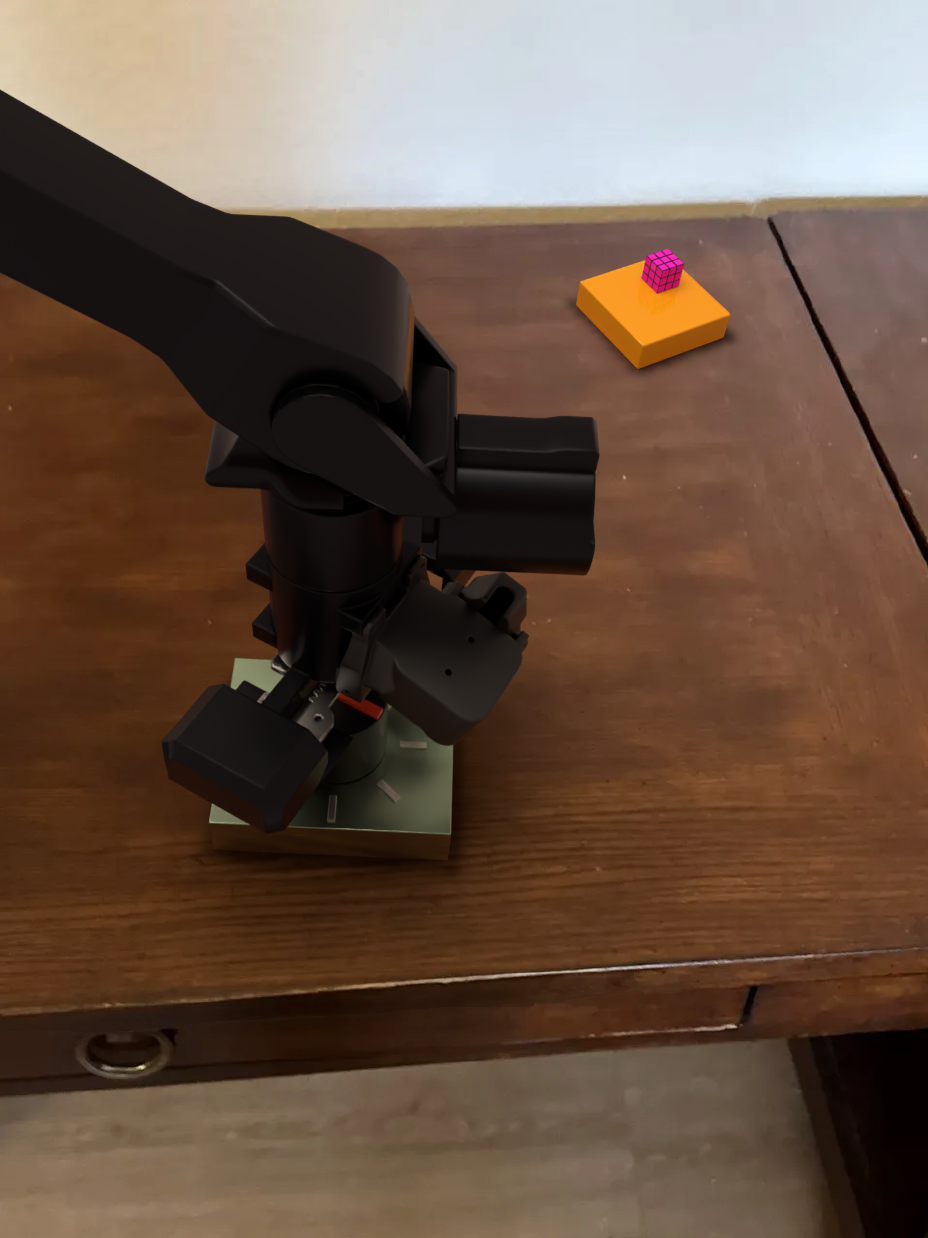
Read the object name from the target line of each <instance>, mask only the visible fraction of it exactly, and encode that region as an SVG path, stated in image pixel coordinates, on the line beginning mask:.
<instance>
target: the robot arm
mask: <svg viewBox="0 0 928 1238" xmlns="http://www.w3.org/2000/svg"><path fill="white" fill-rule="evenodd" d="M0 274H1V275H3V276H5V277H7V278H9V279H12V281H16V282H17V283H20V284H21V285H23V286H25V287H27V288H28V289H31V290H33V291H34V292H37V293H39V294H40V295H41V294H42V295H44V296H45V297H47V298H49V299H51V300H53V301H54V302H55V301H56V302H57V303H59V304H61V305H63V306H66V307H68V308H69V309H72V310H73V311H75V312H77V313H80V314H81V315H84V316H85V317H87V318H90V319H91V320H93V321H96V322H98V323H99V324H102V325H103V326H105V327H107V328H109V329H111V330H114V331H116V332H117V333H120V334H121V335H123V336H126V337H128V338H130V340H133V341H134V342H135V343H137V344H138V345H140V346H141V347H143V348H144V349H145V350H147V351H149V352H150V353H152V354H153V355H155V356H156V357H158V358H159V359H160V360H161V361H162V362H163V363H164V365H166V366H167V368H168V369H169V371H170V372H171V373H172V374H173V376H175V378H176V379H177V381H178V382H179V383H180V384H181V385H182V387H183V388H184V389H185V391H186V392H187V393H188V395H189V396H190V397H191V398H192V400H193V401H194V402H195V403H196V404H197V406H198V407H199V408H200V410H201V411H202V412H203V413H204V414H205V415H206V416H207V417H209V418H210V419H212V420H213V424H212V430H211V435H210V442H209V447H208V453H207V458H206V465H205V471H204V474H203V475H204V478H203V479H204V481H205V483H206V484H207V485H208V486H210V487H212V488H227V489H244V490H245V489H247V490H260V491H259V492H260V502H261V513H262V514H261V515H262V526H263V537H264V538H263V539H264V543H263V544H262V545H261V546H260V547H259V548H258V549H257V550H256V552H255V553H253V555H252V556H251V557H250V558H249V559H248V560H247V562H246V563H245V574H246V580H248V581H249V582H251V583H253V584H256V585H258V586H259V587H261V588H263V589H265V590H267V591H268V593H269V594H268V596H269V602H268V604H267V605H266V606H265V607H264V608H263V609H262V610H261V612H260V613H259V614H258V615H257V616H256V618H255V619H254V620H253V621H252V622H251V629H252V637H253V638H255V639H257V640H259V641H260V642H263V643H264V644H266V645H268V646H271V648H275V649H277V652H276V653H275V655H274V656H273V657H272V658H271V659H270V660H271V662H270V665H271V669H272V670H273V671H275V672H277V673H279V674H281V675H284V676H283V677H282V679H281V680H280V681H279V682H278V683H277V685H276V686H275V687H274V688H273V690H272V691H271V692H270V693H268V692H266V691H264V690H263V689H261V688H259V687H257V686H255V685H253V684H251V683H249V682H248V681H246V680H243V682H242V683H241V684H240V685H239V686H238V688H237V689H236V690H235V689H233V688H231V687H230V686H229V685H228V684H225V683H220V684H214V685H213V684H212V685H209V686H207V688H206V689H205V690H204V691H203V692H202V693H201V694H200V696H199V697H198V698H197V699H196V701H194V703H193V704H192V705H191V706H190V707H189V709H188V710H187V711H186V712H185V713H184V715H183V716H182V717H180V719H179V721H177V723H176V724H175V725H174V726H173V727H172V729H171V730H170V731H169V732H168V733H167V734H166V736H165V737H164V738H163V739H162V740H161V748H162V754H163V761H164V765H165V769H166V773H167V777H168V780H169V781H172V782H173V783H175V784H177V785H178V786H180V787H182V788H184V789H185V790H187V791H189V792H191V793H193V794H195V795H197V796H198V797H199V798H201V799H203V800H205V801H207V802H209V803H210V804H211V805H212V804H214V805H216V806H217V807H219V808H221V809H223V810H224V811H226V812H228V813H230V814H231V815H233V816H235V817H237V818H239V819H240V820H242V821H244V822H246V823H247V824H249V825H251V826H253V827H254V828H256V829H258V830H260V831H261V832H263V833H265V834H270V833H275V832H279V831H284V830H285V829H286V828H287V827H288V825H289V824H290V823H291V821H292V820H293V819H294V817H295V816H296V815H297V813H298V812H299V810H300V809H301V808H302V806H303V805H304V804H305V802H306V801H307V800H308V798H309V797H310V796H311V794H312V793H313V791H314V790H315V789H316V787H317V786H318V784H319V782H320V781H321V780H322V779H324V778H325V777H326V776H327V774H328V773H329V772H330V770H331V769H332V768H333V766H334V765H335V764H336V762H337V761H338V760H339V758H340V757H341V755H342V754H343V753H344V751H345V750H346V749H347V747H348V746H349V745H350V743H351V742H352V741H353V739H354V738H353V737H351V736H349V735H347V734H345V733H343V732H342V731H340V730H338V729H336V728H334V727H333V725H334V716H333V713H332V712H331V710H330V709H329V708H330V707H331V705H332V704H333V703H334V701H335V700H336V699H337V698H338V696H339V695H340V694H341V693H342V694H344V695H346V696H348V697H350V698H351V699H353V700H355V701H357V702H359V703H362V701H363V700H364V699H365V697H366V696H367V695H368V693H369V692H370V691H371V689H372V690H374V691H376V692H377V694H378V695H379V696H380V698H381V699H383V700H384V701H385V702H386V703H387V704H389V705H390V706H391V707H393V708H394V709H395V710H397V711H398V712H399V713H401V714H402V715H403V716H405V717H406V718H407V719H409V720H410V721H411V722H412V723H414V724H415V725H416V726H418V727H419V728H420V729H422V730H423V731H424V732H425V734H426V736H427V737H429V738H430V739H431V740H433V741H434V742H436V743H437V744H440V745H443V746H451V745H453V746H454V745H457V744H458V743H459V742H461V741H462V740H463V739H464V738H465V737H466V736H467V735H468V734H469V733H471V731H473V730H474V729H475V728H476V727H477V726H478V725H479V724H481V722H482V721H483V720H485V719H486V718H487V717H488V716H489V714H491V711H492V710H493V709H494V707H495V705H496V704H497V703H498V701H499V700H500V698H501V696H502V695H503V693H504V692H505V690H506V689H507V687H508V686H509V684H510V683H511V681H512V680H513V678H514V677H515V675H516V674H517V672H518V671H519V669H520V667H521V666H522V663H523V652H524V651H525V649H526V648H527V646H528V645H529V637H530V634H528V633H527V632H526V631H525V630H521V625H522V623H523V622H524V621H525V618H526V617H527V613H528V612H527V609H528V608H527V605H528V604H527V600H528V598H527V597H528V591H527V588H526V587H524V585H522V583H519V582H518V581H517V580H516V579H514V578H513V577H511V576H510V575H509V574H508V573H517V574H535V575H536V574H538V575H561V576H587V575H588V573H589V572H590V569H591V566H592V563H593V560H594V555H595V552H596V535H595V524H594V519H595V505H596V483H597V482H596V481H597V480H596V479H597V478H596V477H597V475H596V474H597V469H598V466H599V465H598V464H599V461H600V456H601V455H600V444H599V433H598V423H597V420H596V419H595V418H594V417H592V416H584V415H583V416H582V415H581V416H580V415H555V416H547V417H530V416H529V417H527V416H510V415H490V414H475V413H474V414H471V413H458V365H457V364H456V363H455V362H454V360H453V359H452V358H451V357H450V355H448V353H447V352H446V351H445V349H444V348H443V347H442V346H441V344H439V342H438V341H437V340H436V339H435V338H434V336H433V335H432V334H431V333H430V332H429V331H428V329H427V328H426V327H425V326H424V325H423V323H422V322H421V321H420V320H419V319H418V317H417V316H416V315H415V313H416V312H415V308H414V305H413V299H412V295H411V292H410V290H409V283H408V280H407V279H406V278H405V277H404V275H403V273H402V272H401V271H400V269H399V268H398V267H397V266H395V264H393V263H392V262H391V261H389V260H388V259H387V258H386V257H385V256H384V255H381V254H380V253H378V252H376V251H375V250H372V249H370V248H368V247H366V246H363V245H361V244H359V243H356V242H353V241H351V240H349V239H346V238H344V237H341V236H339V235H336V234H334V233H331V232H329V231H327V230H325V229H321V228H319V227H316V226H314V225H312V224H309V223H306V222H305V221H303V220H299V219H297V218H295V217H291V216H285V215H268V214H267V215H265V214H264V215H263V214H245V213H243V214H242V213H229V212H226V211H223V210H220V209H218V208H217V207H213V206H211V205H208V204H206V203H203V202H201V201H198V200H196V199H193V198H191V197H189V196H188V195H186V194H184V193H183V192H180V191H179V190H178V189H175V188H174V187H172V186H170V185H168V184H167V183H165V182H163V181H162V180H160V179H158V178H157V177H154V176H153V175H151V174H149V173H148V172H146V171H144V170H142V169H140V168H139V167H137V166H136V165H133V164H132V163H130V162H129V161H126V160H125V159H123V158H121V157H120V156H118V155H116V154H114V153H113V152H111V151H109V150H108V149H105V148H104V147H102V146H100V145H98V144H97V143H95V142H93V141H91V140H90V139H88V138H86V137H85V136H83V135H81V134H79V133H77V132H75V131H74V130H72V129H71V128H69V127H67V126H65V125H63V124H62V123H60V122H58V121H56V120H55V119H53V118H51V117H49V116H47V115H46V114H44V113H43V112H40V111H39V110H38V109H36V108H34V107H32V106H30V105H28V104H27V103H26V102H23V101H21V100H20V99H19V98H16V97H14V96H13V95H11V94H9V93H7V92H5V91H4V90H2V89H0ZM428 572H429V573H431V574H433V575H435V576H438V577H439V578H441V580H442V581H441V589H439V588H437V587H435V586H433V584H431V580H430V577H429V574H428ZM476 572H494V573H489V574H483V575H479V576H475V577H474V578H473V579H472V580H471V578H472V577H473V575H474V574H475V573H476ZM470 580H471V581H470ZM469 581H470V582H469ZM468 583H469V584H468ZM467 584H468V585H467ZM466 585H467V586H466ZM288 669H289V670H288ZM321 683H322V684H323V685H320V684H321ZM316 689H317V690H318V691H316ZM311 696H313V697H314V698H313V697H311Z"/></svg>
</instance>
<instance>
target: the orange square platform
mask: <svg viewBox="0 0 928 1238" xmlns="http://www.w3.org/2000/svg"><path fill="white" fill-rule="evenodd" d="M684 267H685V263H684V262H683V260H681V259H680V258H679V257H678V256H677V255H676V254H675V253H673V251H671V250H670V248H665V249H662V250H660V251H656V252H654V253H651V254H646V256H645V259H644V260H641V261H638V262H634V263H632V264H629V265H626V266H623V267H620V268H616V269H614V270H611V271H608V272H605V273H602V274H599V275H595V276H593V277H590V278H587V279H583V280H580V282H579V285H578V292H577V297H576V303H575V306H576V307H577V308H578V309H579V310H580V311H581V312H582V313H583V315H584V316H586V318H587V319H589V320H590V322H591V323H592V324H593V325H594V326H595V327H596V328H597V329H598V330H599V331H600V332H601V333H602V334H603V335H604V336H605V337H606V338H607V340H609V342H611V344H612V345H613V346H614V347H615V348H616V349H617V350H618V351H619V352H620V353H621V354H622V355H623V356H624V357H625V358H626V359H627V360H628V361H629V363H631V364H632V365H633V366H634V368H635V369H636V370H640V369H643V368H646V367H648V366H650V365H653V364H656V363H659V362H662V361H664V360H667V359H670V358H672V357H675V356H678V355H680V354H683V353H686V352H689V351H691V350H694V349H696V348H699V347H702V346H705V345H708V344H710V343H712V342H715V341H718V340H721V339H724V338H725V334H726V331H727V327H728V325H729V321H730V319H731V313H730V312H729V311H728V310H727V309H726V308H725V307H724V306H723V305H722V304H721V303H720V302H719V301H718V300H717V299H715V298H714V297H713V295H711V294H710V293H709V292H708V291H707V290H706V289H705V288H703V286H701V284H699V283H698V282H697V281H696V280H695V279H694V278H693V277H692V276H691V275H690V274H689V273H687V271H686V270H684Z"/></svg>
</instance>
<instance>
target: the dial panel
mask: <svg viewBox="0 0 928 1238" xmlns="http://www.w3.org/2000/svg"><path fill="white" fill-rule="evenodd" d="M271 660H272V659H262V658H247V657H235V658H234V661H233V668H232V674H231V678H230V679H231V680H230V684H229V685H230V686H229V687H231V688H233V689H235V690H236V689H237V688H238V686H239V685H240V684H241V683H242V682H243V680H246V681H248V682H249V683H251V684H253V685H255V686H257V687H259V688H261V689H263V690H264V691H266V692H268V693H270V692H271V691H272V690H273V688H274V687H275V686H276V685H277V683H278V682H279V681H280V680H281V679H282V677H283V676H284V675H281V674H279V673H277V672H275V671H273V670H272V669H271V665H270V662H271ZM288 670H289V669H288ZM453 776H454V745H451V746H443V745H440V744H437V743H436V742H434V741H433V740H431V739H430V738H429V737H427V736H426V734H425V732H424V731H423V730H422V729H420V728H419V727H418V726H416V725H415V724H414V723H412V722H411V721H410V720H409V719H407V718H406V717H405V716H403V715H402V714H401V713H399V712H398V711H397V710H395V709H394V708H393V707H391V706H390V705H389V704H388V719H387V742H386V749H385V753H384V755H383V758H382V759H381V761H380V763H379V764H378V765H377V766H376V767H375V768H374V769H373V770H372V771H371V772H370V773H368V774H367V775H365V776H364V777H362V778H360V779H357V780H355V781H351V782H346V783H328V782H323V781H320V782H319V784H318V786H317V787H316V789H315V790H314V791H313V793H312V794H311V796H310V797H309V798H308V800H307V801H306V802H305V804H304V805H303V806H302V808H301V809H300V810H299V812H298V813H297V815H296V816H295V817H294V819H293V820H292V821H291V823H290V824H289V825H288V827H287V828H286V829H285V830H284V831H279V832H275V833H270V834H265V833H263V832H261V831H260V830H258V829H256V828H254V827H253V826H251V825H249V824H247V823H246V822H244V821H242V820H240V819H239V818H237V817H235V816H233V815H231V814H230V813H228V812H226V811H224V810H223V809H221V808H219V807H217V806H216V805H214V804H212V803H211V806H210V812H209V818H208V824H209V825H208V826H209V830H210V831H209V832H210V836H211V840H212V845H213V849H214V851H234V852H256V853H273V854H276V853H277V854H294V855H295V854H297V855H298V854H299V855H320V856H338V857H339V856H340V857H342V856H343V857H360V858H381V859H382V858H383V859H402V860H403V859H404V860H421V861H423V860H425V861H445V862H446V861H448V859H449V853H450V852H449V851H450V846H451V839H452V838H451V837H452V822H453V821H452V819H453V817H452V816H453V814H452V812H453V781H454V777H453Z"/></svg>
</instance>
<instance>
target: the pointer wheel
mask: <svg viewBox="0 0 928 1238" xmlns="http://www.w3.org/2000/svg"><path fill="white" fill-rule="evenodd" d="M320 685H323V684H322V683H321V684H320ZM316 691H318V690H317V689H316ZM311 697H313V696H311ZM313 698H314V697H313ZM329 709H330V710H331V712H332V713H333V716H334V725H333V727H334V728H336V729H338V730H340V731H342V732H343V733H345V734H347V735H349V736H351V737H353V738H354V739H353V741H352V742H351V743H350V745H349V746H348V747H347V749H346V750H345V751H344V753H343V754H342V755H341V757H340V758H339V760H338V761H337V762H336V764H335V765H334V766H333V768H332V769H331V770H330V772H329V773H328V774H327V776H326V777H325V778H324V779H322V780H321V781H323V782H328V783H346V782H351V781H355V780H357V779H360V778H362V777H364V776H365V775H367V774H368V773H370V772H371V771H372V770H373V769H374V768H375V767H376V766H377V765H378V764H379V763H380V761H381V759H382V758H383V755H384V753H385V749H386V742H387V719H388V704H387V703H386V702H385V701H384V700H383V699H381V698H380V696H379V695H378V694H377V692H376V691H374V690H372V689H371V691H370V692H369V693H368V695H367V696H366V697H365V699H364V700H363V701H362V703H359V702H357V701H355V700H353V699H351V698H350V697H348V696H346V695H344V694H342V693H341V694H340V695H339V696H338V698H337V699H336V700H335V701H334V703H333V704H332V705H331V707H330V708H329Z"/></svg>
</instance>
